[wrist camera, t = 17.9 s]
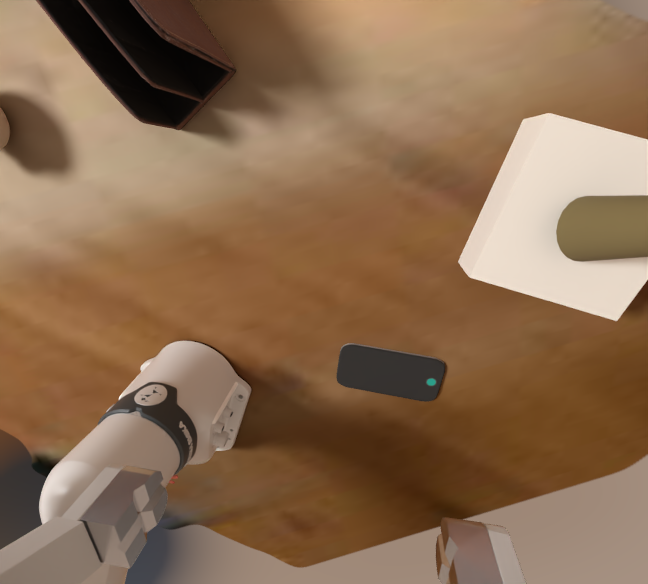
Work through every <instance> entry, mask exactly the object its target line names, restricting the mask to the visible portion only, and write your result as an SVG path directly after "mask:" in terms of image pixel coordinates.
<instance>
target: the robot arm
mask: <svg viewBox="0 0 648 584" xmlns="http://www.w3.org/2000/svg"><path fill="white" fill-rule="evenodd" d="M250 394H251V387H250V386H249V385H248V384H247V383H246V382H245V381H244V380H243V379H241V378H240V377H239V376H238V375H237V374H236V373H235V371H234V370H233V368H232V366H231V365H230V364H229V362H228V361H227V360H226V359H225V358H224V357H223V356H222V355H221V354H219V353H218V352H217V351H215V350H214V349H212V348H210V347H208V346H206V345H204V344H201V343H198V342H193V341H178V342H174V343H171V344H169V345H167V346H166V347H164V348H163V349H162V350H161V352H160V353H159V354H158V355H157V356H156V357H155V358H152V359H149V360H147V361H146V362H144V364H143V365H142V366H141V373H140V374H139V375H138V376H137V377H136V378H135V380H134V381H133V382H132V383H131V384H130V385H129V386H128V387H127V388H126V390H125V391H124V392H123V393H122V394H121V395H120V397H119V401H118V402H117V403H116V404H113V405H112V406H111V407H110V408H109V409H108V410H107V412H106V413H105V414H104V415H103V417H102V418H101V419H100V421H99V423H98V426H97V427H96V428H95V429H94V430H93V431H92V432H90V433H89V434H88V435H87V436H86V437H85V438H84V439H83V440H82V441H81V442H80V443H79V444H78V445H77V446H76V447H75V448H74V449H73V450H72V451H71V452H69V453H68V454H67V455H66V456H65V457H64V458H63V459H62V460H61V461H60V462H59V463H58V464H57V465H56V466H55V467H54V468H53V469H52V471H51V472H50V474H49V475H48V477H47V479H46V481H45V484H44V486H43V489H42V493H41V497H40V503H39V510H40V517H41V521H42V525H41V526H40V527H38V528H36V529H35V530H33V531H31V532H29V533H28V534H26V535H25V536H23V537H21V538H20V539H18V540H16V541H15V542H13V543H11V544H10V545H8V546H6V547H4V548H3V549H1V550H0V584H124V583H125V578H126V574H127V570H128V568H131V566H132V565H133V563H134V562H135V560H136V558H137V556H138V555H139V553H140V552H141V550H142V548H143V547H144V545H145V544H146V542H147V532H148V531H149V530H151V529H152V528H153V527H155V526H156V525H157V524H158V522H159V520H160V519H161V517H162V515H163V513H164V510H165V507H166V504H167V491H166V489H165V488H166V486H167V484H168V483H173V484H174V483H175V482H174V481H171V479H172V478H178V476H177V475H175V474H177V473H178V472H179V471H180V470H181V469H182V468H183V467H185V466H186V465H187V464H202V463H205V462H207V461H209V460H210V459H211V457H212V456H213V454H214V452H215V451H223V450H228V449H231V448H232V446H233V445H234V443H235V440H236V437H237V434H238V431H239V428H240V424H241V421H242V418H243V415H244V412H245V409H246V406H247V403H248V400H249V397H250ZM440 526H441V532H442V534H440V535H439V536H438V538H437V543H436V563H437V572H438V579H439V580H440V582H441V583H442V584H526V581H525V578H524V575H523V572H522V569H521V567H520V564H519V561H518V558H517V555H516V552H515V549H514V547H513V544H512V541H511V538H510V535H509V532H508V531H507V530H506V528H504V527H503V526H497V525H491V524H484V523H481V522H474V521H467V520H460V519H453V518H447V517H444V518H443V519H442V521H441V525H440Z"/></svg>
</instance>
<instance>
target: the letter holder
mask: <svg viewBox="0 0 648 584" xmlns="http://www.w3.org/2000/svg"><path fill="white" fill-rule="evenodd" d="M36 1H37V2H38V3H39V5H40V6H41V7H42V9H43V10H44V11H45V12H46V14H47V15H48V16H49V17H50V19H51V20H52V21H53V23H54V24H55V25H56V26H57V28H58V29H59V30H60V31H61V33H62V34H63V35H64V36H65V38H66V39H67V40H68V41H69V43H70V44H71V45H72V46H73V47H74V49H75V50H76V51H77V52H78V54H79V55H80V56H81V58H82V59H83V60H84V61H85V62H86V63H87V65H88V66H89V67H90V68H91V69H92V71H93V72H94V73H95V74H96V76H97V77H98V78H99V79H100V80H101V81H102V83H103V84H104V85H105V86H106V87H107V88H108V90H109V91H110V92H111V93H112V94H113V95H114V96H115V98H116V99H117V100H118V101H119V102H120V103H121V104H122V105H123V106H124V107H125V108H126V109H127V110H128V111H129V112H130V114H132V115H133V116H134V117H135V118H136V119H138V120H139V121H141V122H143V123H146V124H151V125H156V126H162V127H167V128H173V129H176V130H181V128H182V127H183V126H184V125H185V124H186V123H187V122H188V121H189V120H190V119H191V118H192V117H193V116H194V115H195V114H196V113H197V112H198V111H199V110H200V109H201V108H202V107H203V106H204V105H205V103H206V102H207V101H208V100H209V99H210V98H211V97H212V96H213V95H214V94H215V93H216V92H217V91H218V90H219V89H220V88H221V87H222V86H223V85H224V84H225V83H226V82H227V81H228V80H229V79H230V78H231V77H232V75H233V74H234V73H235V71H236V69H235V67H234V65H233V64H232V62H231V61H230V60H229V58H228V57H227V56H226V54H225V53H224V51H223V50H222V48H221V47H220V46H219V44H218V43H217V41H216V40H215V38H214V37H213V35H212V34H211V32H210V31H209V30H208V28H207V27H206V25H205V24H204V22H203V21H202V19H201V18H200V16H199V15H198V13H197V12H196V10H195V9H194V7H193V6H192V4H191V3H190V1H189V0H36Z"/></svg>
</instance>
